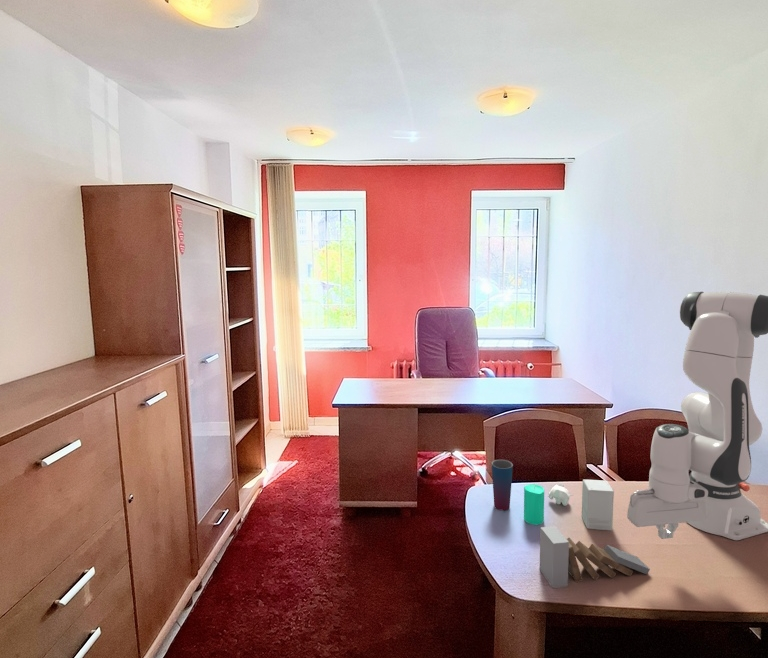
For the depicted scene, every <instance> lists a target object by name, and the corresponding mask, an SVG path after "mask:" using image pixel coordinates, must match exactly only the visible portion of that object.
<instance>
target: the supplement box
mask: <svg viewBox="0 0 768 658" xmlns="http://www.w3.org/2000/svg"><path fill="white" fill-rule="evenodd" d="M581 490H582V491H581V492H582V493H581V495H582V496H581V518H582V521H583V524H584V525H585V526H586V529H590V530H601V531H613V520H614V519H613V517H614V516H613V515H614V497H615V496H614V495H615V494H614V493H615V491H614V489H613V488H612V486H611V485H610V483H609V482H608V480H604V479H603V480H599V479H582V489H581Z"/></svg>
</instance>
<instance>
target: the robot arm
mask: <svg viewBox="0 0 768 658" xmlns="http://www.w3.org/2000/svg"><path fill="white" fill-rule="evenodd" d="M679 317H680V321H681V322H682V323H683V325H684V326H685V327H687V328H688V330H689V331H690V332H689V335H688V338H687V342H686V344H685V345H686V346H685V350H684V354H683V358H682V360H683V361H682V370H683V372H684V374H685V376H686V377H687V379H688V380H689V381H691V383H693V384H694V385H695V386H696V387H698V388H700V389H702V390H703V391H705V392H700V391H696V392H691V393H689V394H687V395H686V396H685V397H684V398H683V399H682V402H681V404H680V409H681V414H682V415H683V416H684V419H685V421H686V423H687V427H685V426H683V425H680V424H675V423H665V424H662V425H661V424H660V425H659V426H657V427H656V428H655V430H654V433H653V436H652V440H651V446H650V461H651V467H650V469H649V473H648V474H649V475H648V477H649V478H648V488H647V489H638V490H635V492H633V493H632V494H630V496H629V503H628V508H627V516H626V517H627V519H628V520H629V522H630V523H631V524H632V525H634V526H635V527H637V528H642V527H653V526H656V528H657V531H658V533H657V535H658V537H659V538H661V539H662V540H663V539H664V540H665V539H674V533H675V531H676V530H678V529H677V528H678V527H679V524H683V523H685V524H686V523H687V524H689V525H690V526H691V527H694V528H696V529H698V530H699V531H701V532H702V531H703V532H706V533H708V534H712V535H715V536H716V535H717V536H722V537H725V538H726V539H727V538H728V539H730V540H732V541H733V540H734V541H740V540H744V539H747V538H750V537H754V536H758V535H761V534H764V533H768V522H767V521H765V520H764V519H763V518H762V517H761V516H762V515H761V510H760V508H759V506H758V505H757V504H756V503H755V502H753V501H752V500H751V499H749V498H748V497H747V496H746V495H744V494H743V493H742V491H741V490H743V491H744V492H749V491H750V488H751V487H750V485H749V484H746V483H745V481H747V480H748V479H749V477H750V474H751V471H752V458H751V450H750V446H752V445H754V444H756V442H757V441H758V440H759V439H760V438H761V436H762V433H763V425H762V422H761V420H760V419H759V418H758V416H757V414H756V413H755V410H754V406H753V403H752V402H753V401H752V397H751V391H750V378H751V369H752V363H753V356H754V350H755V349H754V347H755V338H760V336H764V335H767V334H768V295H765V294H759V295H757V294H752V293H745V292H735V291H729V292H725V291H724V292H722V291H721V292H718V291H716V292H715V291H714V292H713V291H712V292H709V291H708V292H704V291H695V292H689V293H688V294H687V295H685V296H684V297H683V299H682V302H681V303H680V306H679ZM706 392H707V393H706ZM690 471H691V472H690ZM689 472H690V473H689ZM666 525H667V526H666ZM665 527H666V528H665Z"/></svg>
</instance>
